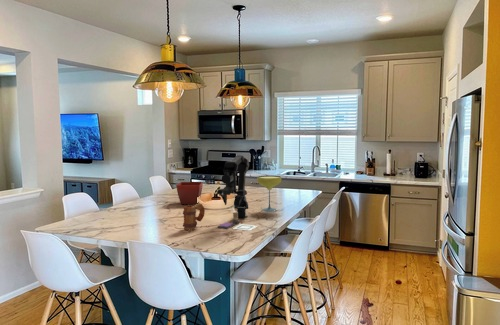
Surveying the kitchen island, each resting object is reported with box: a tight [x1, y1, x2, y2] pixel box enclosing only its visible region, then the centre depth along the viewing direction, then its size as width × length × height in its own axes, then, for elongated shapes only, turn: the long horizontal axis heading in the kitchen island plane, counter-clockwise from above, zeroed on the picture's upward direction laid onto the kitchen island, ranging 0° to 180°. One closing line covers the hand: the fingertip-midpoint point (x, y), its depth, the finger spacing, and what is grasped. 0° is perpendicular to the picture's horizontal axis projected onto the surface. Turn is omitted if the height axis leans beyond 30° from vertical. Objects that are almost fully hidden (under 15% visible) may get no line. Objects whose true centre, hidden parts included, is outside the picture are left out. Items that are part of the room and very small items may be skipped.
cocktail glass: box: [256, 175, 282, 212], centre depth 276 cm, size 18×18×25 cm
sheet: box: [231, 223, 259, 232], centre depth 226 cm, size 12×12×1 cm
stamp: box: [231, 211, 240, 225], centre depth 236 cm, size 4×4×7 cm
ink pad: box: [217, 222, 236, 230], centre depth 229 cm, size 10×7×1 cm
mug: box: [182, 202, 206, 231], centre depth 224 cm, size 15×8×15 cm, turn 126°
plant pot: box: [175, 181, 204, 205], centre depth 306 cm, size 19×19×17 cm
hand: (232, 205), depth 233 cm, fingers open, 9 cm apart
